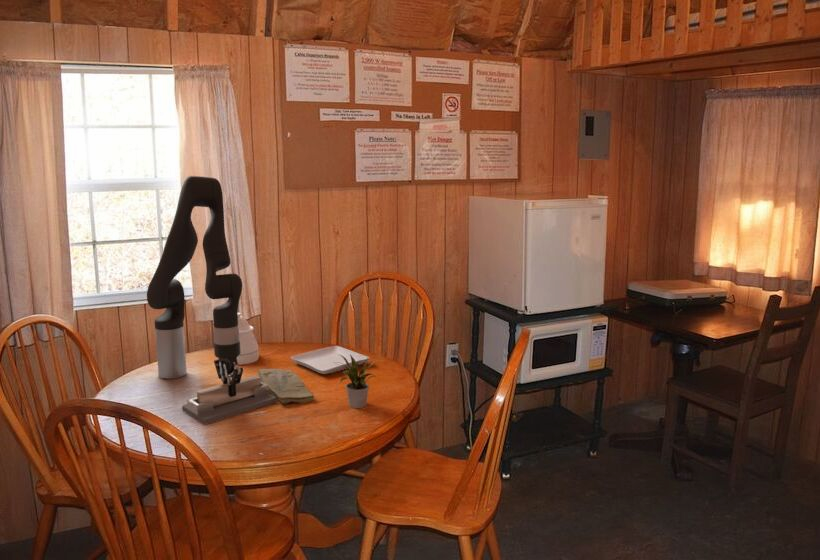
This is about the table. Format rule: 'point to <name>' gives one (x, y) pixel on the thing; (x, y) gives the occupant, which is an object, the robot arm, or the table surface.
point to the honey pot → (246, 342)
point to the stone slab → (285, 386)
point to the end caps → (208, 405)
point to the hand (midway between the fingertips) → (229, 394)
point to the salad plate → (328, 359)
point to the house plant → (356, 384)
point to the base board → (232, 408)
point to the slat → (222, 394)
